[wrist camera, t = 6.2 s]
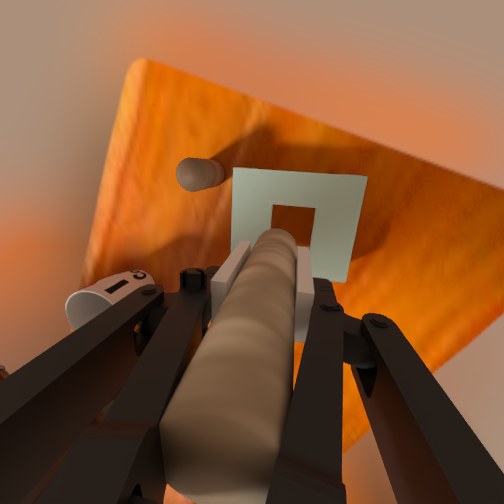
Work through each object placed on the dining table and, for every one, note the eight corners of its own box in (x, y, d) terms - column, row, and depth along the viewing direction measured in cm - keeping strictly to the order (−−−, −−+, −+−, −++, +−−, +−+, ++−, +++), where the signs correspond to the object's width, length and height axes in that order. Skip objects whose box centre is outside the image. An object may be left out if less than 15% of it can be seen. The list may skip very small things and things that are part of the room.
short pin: (200, 185, 33) (176, 190, 27) (199, 158, 32) (175, 156, 25) (224, 187, 33) (206, 193, 26) (225, 160, 31) (206, 158, 25)
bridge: (238, 254, 35) (230, 268, 31) (242, 167, 31) (233, 167, 27) (338, 266, 34) (345, 282, 29) (356, 174, 29) (368, 176, 25)
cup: (158, 260, 38) (114, 290, 29) (168, 306, 41) (130, 347, 31) (112, 261, 40) (56, 290, 30) (125, 305, 42) (76, 344, 33)
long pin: (254, 264, 21) (154, 493, 6) (256, 226, 20) (141, 399, 5) (294, 269, 21) (283, 528, 6) (298, 230, 20) (299, 433, 5)
